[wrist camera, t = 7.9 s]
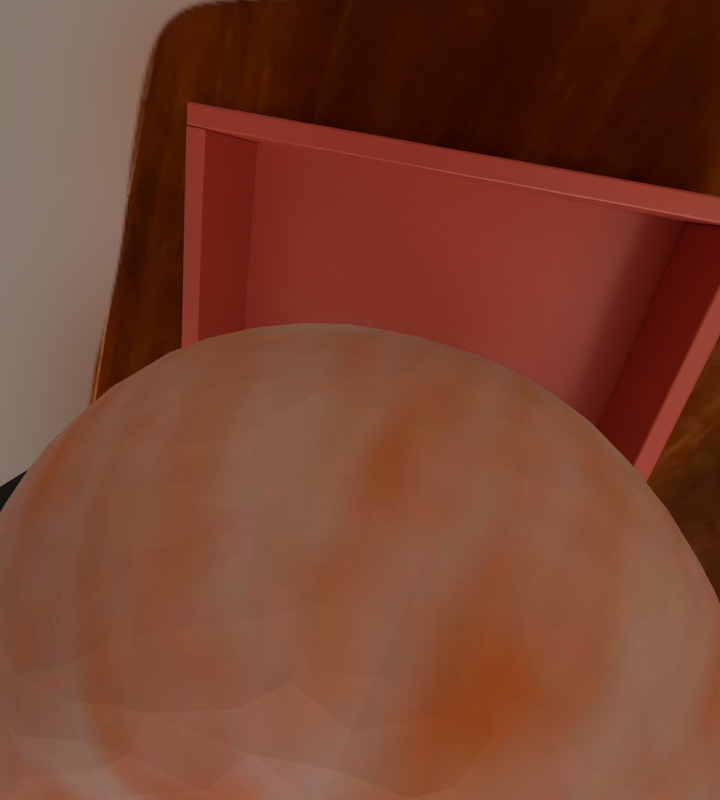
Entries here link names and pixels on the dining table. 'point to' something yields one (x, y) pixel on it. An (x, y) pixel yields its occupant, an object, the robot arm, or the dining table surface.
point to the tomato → (348, 589)
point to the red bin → (457, 260)
